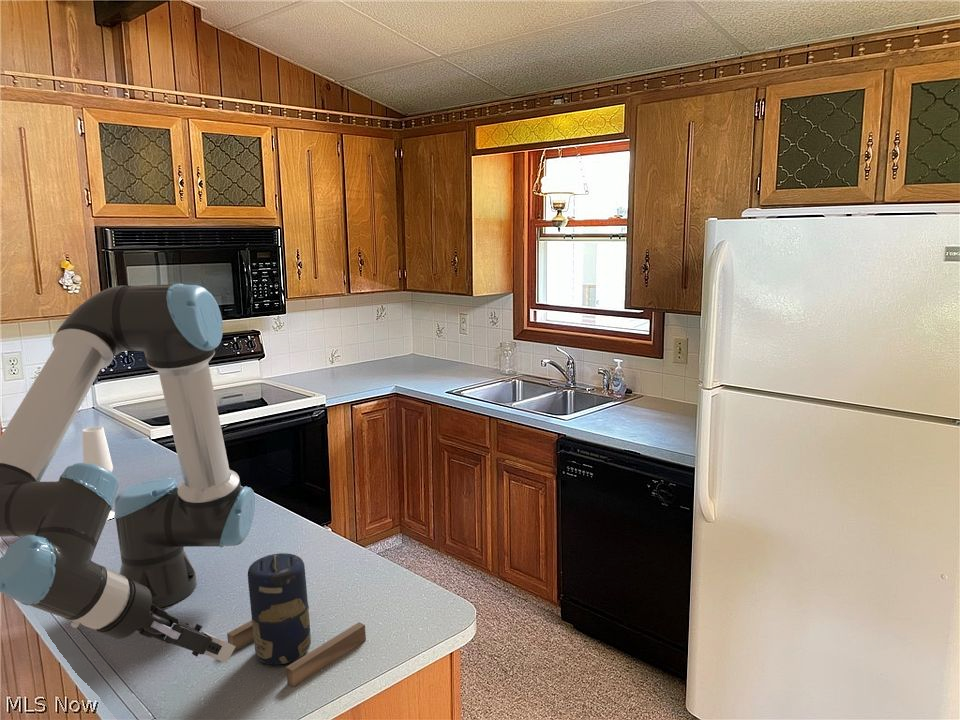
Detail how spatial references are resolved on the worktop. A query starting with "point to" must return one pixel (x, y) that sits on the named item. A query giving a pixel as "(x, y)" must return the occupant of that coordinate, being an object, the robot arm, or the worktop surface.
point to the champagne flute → (97, 451)
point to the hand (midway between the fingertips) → (228, 653)
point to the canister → (279, 608)
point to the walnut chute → (311, 660)
